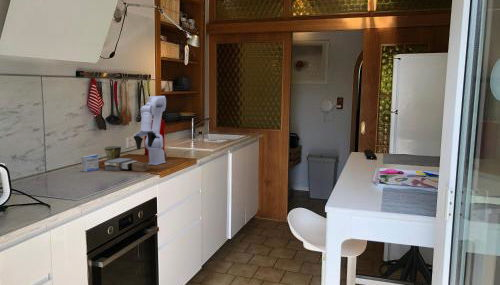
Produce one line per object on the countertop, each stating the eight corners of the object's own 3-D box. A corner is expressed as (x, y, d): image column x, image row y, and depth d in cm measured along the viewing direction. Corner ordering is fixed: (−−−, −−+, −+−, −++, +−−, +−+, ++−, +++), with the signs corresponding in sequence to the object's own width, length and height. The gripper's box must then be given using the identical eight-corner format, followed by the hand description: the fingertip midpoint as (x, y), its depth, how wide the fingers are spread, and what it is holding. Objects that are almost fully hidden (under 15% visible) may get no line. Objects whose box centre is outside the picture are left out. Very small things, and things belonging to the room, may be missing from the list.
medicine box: (86, 172, 238) (85, 156, 237) (82, 171, 241) (80, 156, 239) (99, 169, 244) (97, 154, 243) (94, 168, 247) (93, 154, 246)
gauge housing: (119, 165, 254) (119, 157, 253) (133, 166, 249) (132, 158, 249) (104, 169, 243) (104, 161, 242) (118, 170, 238) (117, 162, 238)
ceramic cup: (104, 162, 267) (103, 146, 266) (120, 160, 271) (119, 145, 270) (106, 165, 255) (105, 149, 254) (124, 164, 260) (122, 147, 258)
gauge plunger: (127, 165, 249) (126, 159, 249) (139, 166, 246) (138, 160, 245) (113, 169, 239) (112, 162, 238) (125, 170, 235) (124, 163, 235)
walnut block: (138, 169, 244) (137, 162, 243) (149, 169, 240) (148, 162, 240) (132, 170, 239) (131, 163, 239) (143, 171, 236) (142, 164, 235)
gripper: (131, 124, 238) (128, 147, 233) (152, 119, 232) (150, 142, 227) (139, 129, 244) (137, 151, 239) (159, 124, 238) (158, 147, 233)
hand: (144, 147), depth 233 cm, fingers open, 7 cm apart
